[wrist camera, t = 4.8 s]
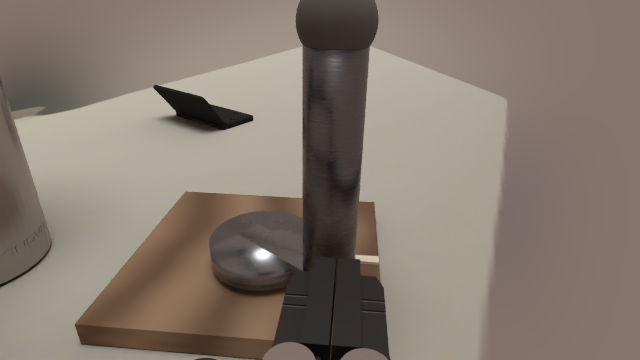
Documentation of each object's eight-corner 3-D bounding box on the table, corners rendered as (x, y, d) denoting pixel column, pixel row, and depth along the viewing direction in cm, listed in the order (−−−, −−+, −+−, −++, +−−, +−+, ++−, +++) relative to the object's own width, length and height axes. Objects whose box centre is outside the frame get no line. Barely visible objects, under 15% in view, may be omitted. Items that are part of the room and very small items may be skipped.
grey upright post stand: (189, 258, 27) (147, -28, 20) (266, 217, 32) (255, -24, 25) (312, 342, 21) (317, -28, 14) (384, 276, 26) (417, -23, 18)
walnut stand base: (81, 343, 23) (73, 321, 22) (187, 206, 37) (185, 189, 37) (382, 369, 22) (385, 346, 21) (372, 217, 36) (374, 200, 36)
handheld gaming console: (260, 107, 62) (224, 59, 55) (243, 145, 60) (202, 101, 52) (204, 107, 68) (164, 63, 60) (186, 142, 65) (141, 102, 57)
